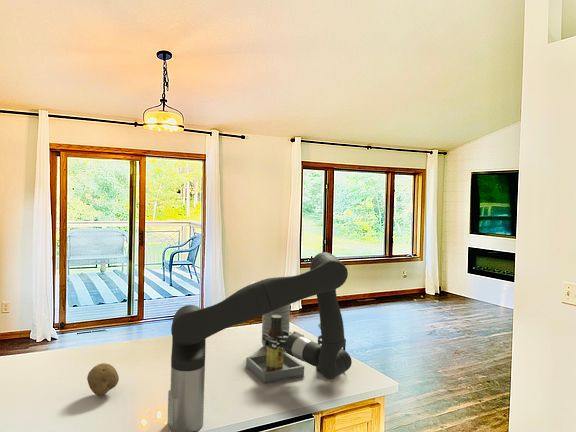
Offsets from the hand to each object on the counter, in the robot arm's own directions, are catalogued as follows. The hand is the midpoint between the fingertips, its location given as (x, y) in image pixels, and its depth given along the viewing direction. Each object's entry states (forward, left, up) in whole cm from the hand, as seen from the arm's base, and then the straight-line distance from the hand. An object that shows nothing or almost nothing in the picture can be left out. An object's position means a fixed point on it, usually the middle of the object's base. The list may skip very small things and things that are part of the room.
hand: (272, 334), depth 156 cm
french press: (+20, -9, -13) cm, 26 cm away
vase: (+11, +19, -13) cm, 26 cm away
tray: (0, -2, -13) cm, 13 cm away
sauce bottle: (0, -2, -13) cm, 13 cm away
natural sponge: (-58, +4, -13) cm, 59 cm away
